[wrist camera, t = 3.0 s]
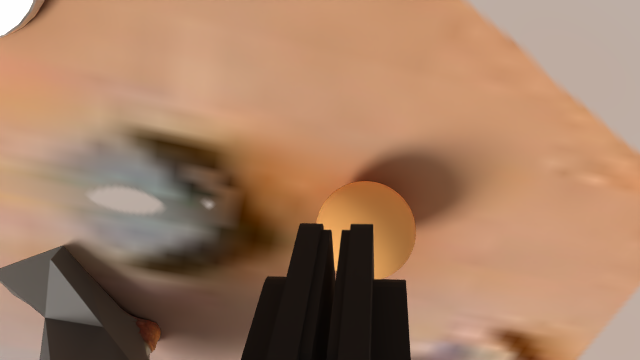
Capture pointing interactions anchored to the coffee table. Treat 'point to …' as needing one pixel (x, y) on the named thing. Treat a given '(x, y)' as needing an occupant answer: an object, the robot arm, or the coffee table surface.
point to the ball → (372, 222)
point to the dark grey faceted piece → (77, 311)
